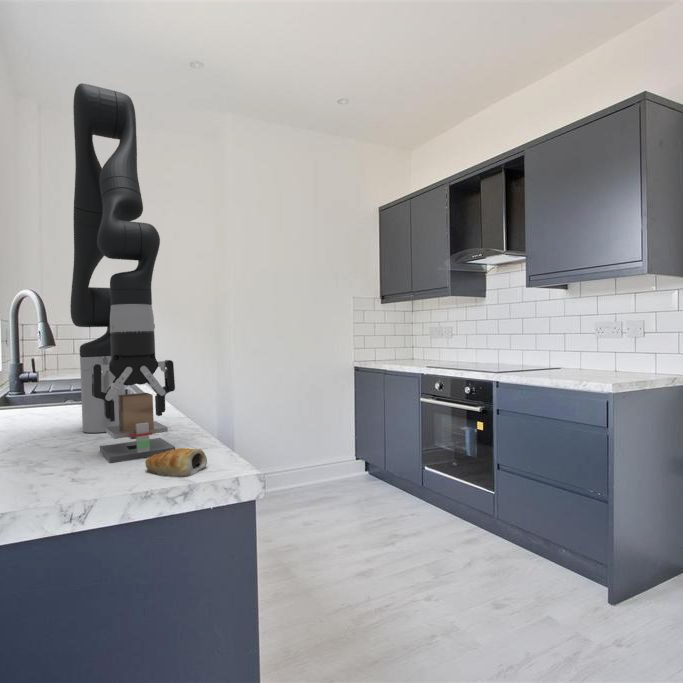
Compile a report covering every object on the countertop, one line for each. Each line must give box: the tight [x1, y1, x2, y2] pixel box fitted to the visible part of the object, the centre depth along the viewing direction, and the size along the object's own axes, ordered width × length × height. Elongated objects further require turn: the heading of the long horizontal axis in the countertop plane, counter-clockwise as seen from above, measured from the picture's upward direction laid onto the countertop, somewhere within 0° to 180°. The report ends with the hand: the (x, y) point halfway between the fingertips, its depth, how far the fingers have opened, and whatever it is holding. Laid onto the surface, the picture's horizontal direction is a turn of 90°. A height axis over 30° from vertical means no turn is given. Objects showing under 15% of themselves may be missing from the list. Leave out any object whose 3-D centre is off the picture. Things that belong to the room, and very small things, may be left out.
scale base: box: [99, 423, 176, 464], centre depth 91 cm, size 11×11×6 cm
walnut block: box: [118, 392, 155, 431], centre depth 91 cm, size 5×5×6 cm
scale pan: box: [105, 420, 169, 440], centre depth 90 cm, size 11×9×2 cm
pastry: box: [144, 447, 208, 478], centre depth 78 cm, size 9×7×4 cm
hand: (135, 418), depth 91 cm, fingers open, 8 cm apart
